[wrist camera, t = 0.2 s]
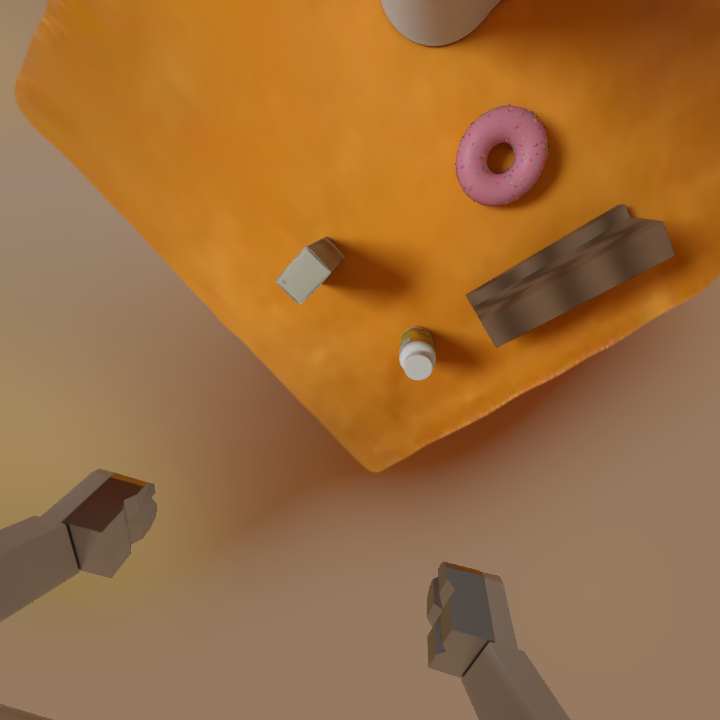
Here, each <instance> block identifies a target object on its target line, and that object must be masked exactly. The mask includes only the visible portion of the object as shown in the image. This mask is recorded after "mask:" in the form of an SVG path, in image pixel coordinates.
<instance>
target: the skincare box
mask: <svg viewBox="0 0 720 720" xmlns="http://www.w3.org/2000/svg"><path fill="white" fill-rule="evenodd" d="M344 258H345V256H344V255H343V254H342V253H341V252H340V250H339V249H338V248H337V247H336V246H335V245H334V244H333V243H332V242H331V241H330V240H329V239H328V238H327V237H324V238H322V239H320V240H318V241H316V242H314V243H313V244H311V245H309V246H307V247H305V248H304V249H303V251H302V252H301V253H300V254H299V255H298V256H297V257H296V258H295V259H294V260H293V261H292V263H291V264H290V265H289V266H288V267H287V268H286V269H285V270H284V272H283V273H282V274H281V275H280V276H279V277H278V278H277V279H276V283H277V284H278V285H279V286H280V287H281V288H282V289H283V290H284V291H285V292H286V293H287V294H288V295H289V296H290V297H291V298H293V299H294V300H295V301H296V302H297V303H298V304H301V303H303V302H304V301H305V300H306V299H307V298H308V297H309V296H310V295H311V294H312V293H313V292H314V291H315V290H316V289H317V288H318V287H319V286H320V285H321V284H322V282H323V281H324V280H325V279H326V278H327V277H328V276H329V275H330V274H331V273H332V272H333V270H334V269H335V268H336V267H337V266H338V265H339V264H340V263H341V262H342V261H343V260H344Z"/></svg>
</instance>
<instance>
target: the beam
mask: <svg viewBox="0 0 720 720" xmlns="http://www.w3.org/2000/svg"><path fill="white" fill-rule="evenodd" d="M673 256H675V254H674V251H673V248H672V245H671V243H670V240H669V237H668V234H667V232H666V229H665V226H664V223H663V221H656V220H648V219H640V218H632V217H630V216H629V213H628V211H627V208H626V206H625V205H617V206H616V207H614V208H612V209H611V210H609V211H607V212H605V213H604V214H602V215H600V216H599V217H597V218H595V219H594V220H592V221H590V222H588V223H587V224H585V225H583V226H582V227H580V228H578V229H577V230H575V231H573V232H572V233H570V234H568V235H566V236H565V237H563V238H561V239H560V240H558V241H556V242H555V243H553V244H551V245H550V246H548V247H546V248H544V249H543V250H541V251H539V252H538V253H536V254H534V255H533V256H531V257H529V258H528V259H526V260H524V261H522V262H521V263H519V264H517V265H516V266H514V267H512V268H511V269H509V270H507V271H506V272H504V273H502V274H500V275H499V276H497V277H495V278H494V279H492V280H490V281H489V282H487V283H485V284H483V285H482V286H480V287H478V288H477V289H475V290H473V291H472V292H470V293H468V294H467V295H466V296H467V298H468V300H469V302H470V303H471V305H472V307H473V308H474V310H475V312H476V314H477V315H478V317H479V319H480V321H481V323H482V324H483V326H484V328H485V329H486V331H487V333H488V334H489V336H490V338H491V339H492V341H493V343H494V345H495V346H496V348H497V347H499V346H501V345H503V344H505V343H507V342H509V341H511V340H513V339H515V338H517V337H519V336H521V335H522V334H524V333H526V332H528V331H530V330H532V329H534V328H536V327H538V326H540V325H542V324H544V323H546V322H548V321H549V320H551V319H553V318H555V317H557V316H559V315H561V314H563V313H565V312H567V311H569V310H571V309H573V308H575V307H577V306H578V305H580V304H582V303H584V302H586V301H588V300H590V299H592V298H594V297H596V296H598V295H600V294H602V293H604V292H606V291H607V290H609V289H611V288H613V287H615V286H617V285H619V284H621V283H623V282H625V281H627V280H629V279H631V278H633V277H635V276H636V275H638V274H640V273H642V272H644V271H646V270H648V269H650V268H652V267H654V266H656V265H658V264H660V263H662V262H663V261H665V260H667V259H669V258H671V257H673Z"/></svg>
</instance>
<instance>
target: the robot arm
mask: <svg viewBox="0 0 720 720" xmlns="http://www.w3.org/2000/svg"><path fill="white" fill-rule="evenodd" d="M500 1H501V0H381V3H382V6H383V8H384V10H385V13H386V14H387V16H388V18H389V20H390V21H391V23H392V24H393V25H394V27H395V28H396V29H397V30H398V31H399V32H400V33H401V34H402V35H404V36H405V37H406V38H408V39H410V40H411V41H413V42H416V43H418V44H421V45H426V46H441V45H446V44H450V43H453V42H455V41H458V40H459V39H461V38H463V37H465V36H466V35H468V34H469V33H470V32H472V31H473V30H474V29H475V28H476V27H477V26H478V25H479V24H480V23H481V22H482V21H483V20H484V19H485V18H486V16H487V15H488V14H489V13H490V12H491V10H492V9H493V8H494V7H495V6H496V5H497V4H498V3H499V2H500ZM154 494H155V487H154V484H152V483H148V482H145V481H141V480H138V479H135V478H131V477H128V476H124V475H121V474H118V473H114V472H110V471H106V470H102V469H98V470H96V471H93V472H92V473H90V474H89V475H88V476H87V477H86V478H85V479H84V480H82V481H81V482H80V483H79V484H78V485H77V486H75V487H74V488H73V489H72V490H71V491H70V492H69V493H67V494H66V495H65V496H64V497H63V498H62V499H60V500H59V501H58V502H57V503H56V504H55V505H54V506H52V507H51V508H50V509H49V510H48V511H47V512H46V513H44V514H43V515H42V516H41V517H38V516H33V517H30V518H28V519H26V520H23V521H21V522H18V523H16V524H13V525H11V526H9V527H6V528H3V529H1V530H0V622H1V621H3V620H4V619H6V618H7V617H9V616H11V615H12V614H14V613H15V612H17V611H19V610H20V609H22V608H23V607H25V606H26V605H28V604H30V603H31V602H33V601H34V600H36V599H38V598H39V597H41V596H42V595H44V594H46V593H47V592H49V591H50V590H52V589H53V588H55V587H57V586H58V585H60V584H62V583H63V582H65V581H66V580H67V579H70V578H71V577H73V576H74V575H76V574H78V573H79V570H81V571H85V572H89V573H93V574H97V575H101V576H105V577H109V578H112V577H113V576H114V574H115V573H116V572H117V571H118V569H119V568H120V567H121V565H122V564H123V563H124V562H125V560H126V559H127V558H128V557H129V555H130V554H131V544H133V543H135V542H137V541H139V540H141V539H143V537H144V536H145V535H146V533H147V532H148V531H149V529H150V528H151V526H152V523H153V522H154V519H155V517H156V512H157V504H156V502H155V501H154V500H153V499H152V496H153V495H154ZM427 618H428V620H429V622H430V624H431V625H432V629H431V631H430V633H429V635H428V637H427V638H428V667H429V668H432V669H435V670H439V671H441V672H444V673H448V674H451V675H454V676H457V677H460V678H462V683H463V685H464V687H465V689H466V692H467V694H468V696H469V698H470V700H471V703H472V705H473V707H474V709H475V711H476V714H477V716H478V718H479V720H570V718H569V717H568V715H567V714H566V712H565V711H564V710H563V708H562V707H561V705H560V704H559V702H558V701H557V699H556V698H555V696H554V695H553V694H552V692H551V691H550V689H549V687H548V686H547V684H546V683H545V681H544V680H543V679H542V677H541V676H540V674H539V673H538V671H537V670H536V668H535V667H534V665H533V664H532V662H531V661H530V659H529V658H528V656H527V655H526V654H525V652H524V651H521V650H518V647H517V643H516V638H515V634H514V629H513V625H512V620H511V616H510V612H509V607H508V603H507V599H506V594H505V590H504V585H503V581H502V580H501V578H500V577H499V576H496V575H492V574H488V573H483V572H480V571H479V570H475V569H471V568H466V567H463V566H459V565H455V564H451V563H447V562H443V563H441V565H440V566H439V568H438V577H436V578H434V579H433V580H432V582H431V585H430V587H429V592H428V597H427ZM0 720H52V719H49V718H45V717H42V716H38V715H35V714H32V713H29V712H25V711H22V710H19V709H15V708H12V707H9V706H5V705H2V704H0Z"/></svg>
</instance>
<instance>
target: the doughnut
mask: <svg viewBox="0 0 720 720" xmlns="http://www.w3.org/2000/svg"><path fill="white" fill-rule="evenodd" d="M536 115H537V114H535V115H534V113H533V112H530V111H528V110H527V109H524V108H521V107H518V106H510V104H509V106H501V107H497V108H494V109H492V110H490V111H488V112H486V113H484V114H482V115H481V116H480V117H477V118H478V119H476V120H475V121H474V122H473V123H471V126H470V127H469V128H468V130H467V131H466V132H465V134H464V136H463V137H462V140H460V145H459V148H458V151H457V156H456V163H455V164H456V174H457V178H458V181H459V183H460V186H461V187H462V189H463V191H464V192H465V194H466V195H467V196H468V197H470V198H471V199H472V200H474V201H475V202H477V203H479V204H482V205H486V206H501V205H506V204H509V203H511V202H514V201H516V200H517V199H519V198H521V197H522V196H523V195H524V194H526V193H527V192H528V191H529V190H530V189H531V188H532V187H533V186H534V184H535V183H536V182H537V180H538V179H539V177H541V176H540V175H541V173H542V171H543V169H544V166H545V162H546V159H547V155H548V154H549V153H548V147H549V146H548V144H547V134H546V132H545V129H544V128H545V127H543V125H542V123H541V122H540V120H539V118H537V117H538V116H536ZM500 143H507V144H509V145H510V146H511V147H512V148H513V150H514V151H513V152H514V162H513V164H512V166H511V168H510V169H508V170H507V171H506V172H504V173H501V174H496V173H493V172H492V171H491V170H490V169H489V167H488V165H487V157H488V154H489V152H490V150H491V149H492V148H493V147H494V146H495V145H497V144H500ZM474 201H473V202H474Z"/></svg>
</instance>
